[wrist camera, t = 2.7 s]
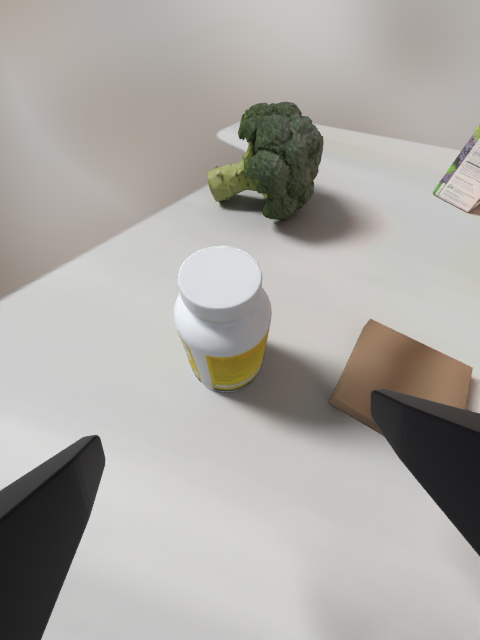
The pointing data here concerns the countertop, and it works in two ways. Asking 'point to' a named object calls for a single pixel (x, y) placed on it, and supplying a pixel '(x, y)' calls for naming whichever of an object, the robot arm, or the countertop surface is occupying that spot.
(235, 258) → the pill bottle
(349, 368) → the base tile
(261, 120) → the vegetable
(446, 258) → the countertop surface
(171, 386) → the countertop surface
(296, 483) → the countertop surface
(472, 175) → the syrup box
